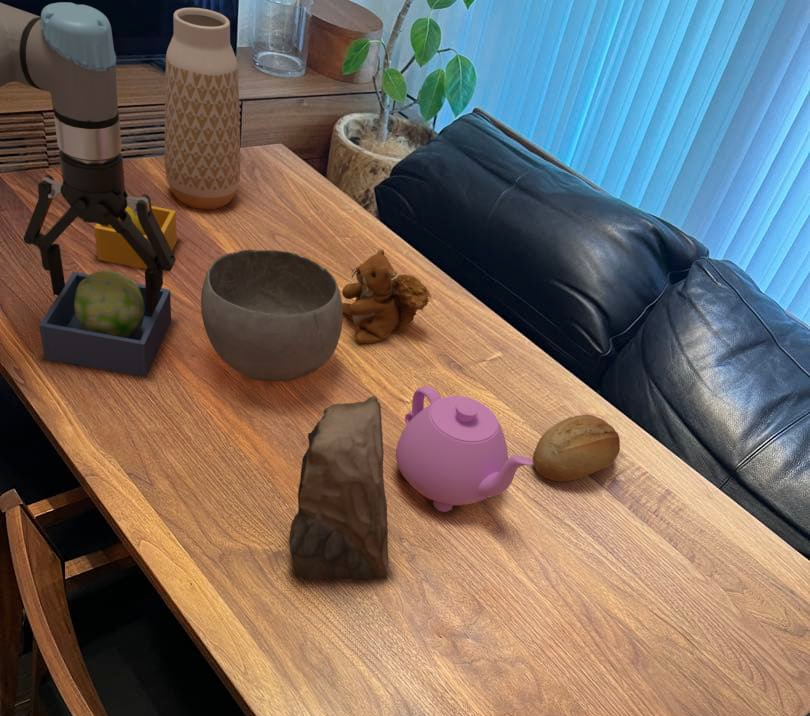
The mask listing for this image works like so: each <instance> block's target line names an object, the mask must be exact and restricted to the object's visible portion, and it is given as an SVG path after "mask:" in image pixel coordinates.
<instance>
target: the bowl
mask: <svg viewBox="0 0 810 716" xmlns="http://www.w3.org/2000/svg"><path fill="white" fill-rule="evenodd" d="M200 295H201V297H200V311H201V317H202V321H203V326H204V330H205V333H206V336H207V338H208V340H209V343H210V344H211V346H212V348H213V350H214V351H215V353H216V354H217V355H218V357H219V358H220V359H221V360H222V362H224V363H225V364H226V365H227V366H229V367H230V368H231V369H232V370H234V371H235V372H237V373H238V374H240V375H242V376H243V377H245V378H247V379H250V380H254V381H257V382H262V383H285V382H291V381H295V380H299V379H301V378H304V377H306V376H308V375H311V374H312V373H315V372H317V371H318V370H319V369H321V368H322V367H324V365H325V364H326V363H327V362H328V361H329V360H330V359H331V358H332V356H333V355H334V353H335V351H336V349H337V347H338V345H339V340H340V338H341V334H342V329H343V324H344V323H343V322H344V315H343V306H342V303H343V300H342V295H341V292H340V289H339V285H338V283H337V280H336V278H335V277H334V275H333V274H332V273H331V272H330V271H329V270H328V269H327V268H325V267H324V266H322V265H321V264H319V263H318V262H316V261H314V260H312V259H310V258H308V257H304V256H302V255H300V254H297V253H295V252H291V251H285V250H279V249H278V250H277V249H243V250H237V251H233V252H229V253H228V252H227V253H226V254H223V255H221V256H220V257H217V258H216V259H215V260H214V261H212V263H211V265H210V266H209V268H208V269H207V271H206V273H205V277H204V280H203V284H202V287H201V294H200Z"/></svg>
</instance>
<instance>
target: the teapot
mask: <svg viewBox="0 0 810 716" xmlns="http://www.w3.org/2000/svg"><path fill="white" fill-rule="evenodd" d="M425 398H426V399H427V400H428V402H429V405H427V406H425ZM424 406H425V408H424ZM404 422H405V425H406V426H405V428H404V429H403V430H402V431H401V432H402V433H401V434H400V436H399V439H398V441H397V445H396V448H395V460H396V464H397V467H398V469H399V471H400V473H401V475H402V477H403V478H404V479H405V480H406V482H407V483H409V485H410V486H411V487H412V488H413V489H414V490H415V491H417V493H419V494H421V495H422V496H423V497H425V498H427V499H428V500H430V501H432V503H433V504H432V505H433V507H434V508H435V509H436V510H438V511H440V512H444V513H445V512H450V511H451V510H452V509H453V506H467V505H471V504H475V503H478V502H481V501H483V500H486V499H488V498H492V497H495V496H499V495H501V494H502V493H504V492H505V491H506V490H508V489H509V487H510V486H511V485H512V482H513V480H514V478H515V475H516V472H517V471H518V469H519V468H520V467H523V466H531V465H534V462H533V460H531V459H530V458H528V457H526V456H523V455H512V456H510V457H509V451H508V445H507V440H506V437H505V434H504V430H503V428H502V426H501V423H500V422H499V420H498V418H497V416H496V415H495V413H494V412H493V411H492V409H490V408H489V407H488V406H486V405H485V404H484V403H482V402H480V401H479V400H476V399H474V398H470V397H467V396H463V395H449V396H444V397H441V395H440V394H439V392H438V391H437V390H436V389H435V388H433V387H431V386H428V385H427V386H426V385H425V386H424V385H423V386H420V387H418V388H417V389H416V390H415V391H414V393H413V397H412V401H411V410H410V411H408V412H406V414H405V416H404Z"/></svg>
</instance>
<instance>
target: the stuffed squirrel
mask: <svg viewBox="0 0 810 716" xmlns="http://www.w3.org/2000/svg"><path fill="white" fill-rule="evenodd" d="M351 272H353V273H352V275H351V278H353V277H354V276H355V275H356V277H355V278H356V280H357V282H354V283H347V284H346V285H344V286H343V288H342V290H341V293H342V296H343V298H345V299H347V300H353V299H354V301H353V302H352V303H348V302H342V306H343V317H346V318H349V319H352V322H353V325H354V326H355V327H356V328H357V329H358V330H357V331H356V335H355V342H357V344H370V343H378V342H382V341H383V340H384V339H385V338H386V337H388V336H389V334H391V332H393V330H396V331H397V330H401V329H403V328H407V326H408V325H410V324H411V323H412V322H413V321H414V317H415V316H416V315H417V311H418V310H419V311H422V312H424V308H425V307H427V306H428V304H429V303H430V300H429V298H430V299H431V298H432V297H433V295H431V293H430V290H428V288H427V286H426V285H425V284H423V283H422V282H421V280H420V279H419V278H417V277H416V276H415V275H411V274H409V275H408V274H406V273H404V274H398V272H397V271H396V270H395V269H394V268H393V266H392V264H391V262H390V261H389V259H388V257H387V256H386V255H385V250H384V249H382V248H380V249H378V250H377V252H376V253H375V254H372V255H370V256H369V257H368V258H367V259H366V260H365V261H364V262H363V263H361V264H359V265H358V266H357V267H355V268H353V269H352V270H351Z"/></svg>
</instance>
